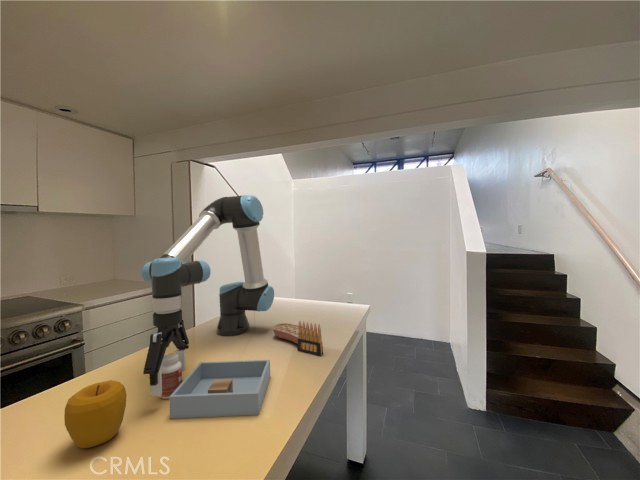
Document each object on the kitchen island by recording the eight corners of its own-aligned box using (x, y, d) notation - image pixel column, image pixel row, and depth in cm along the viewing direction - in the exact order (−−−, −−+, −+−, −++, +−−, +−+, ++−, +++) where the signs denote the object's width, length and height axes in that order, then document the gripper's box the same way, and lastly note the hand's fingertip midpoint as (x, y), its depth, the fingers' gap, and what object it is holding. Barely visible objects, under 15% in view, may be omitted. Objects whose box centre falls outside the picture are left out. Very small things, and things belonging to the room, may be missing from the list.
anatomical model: (269, 338, 121) (268, 327, 121) (285, 332, 129) (285, 321, 129) (305, 352, 106) (304, 339, 106) (321, 344, 113) (321, 332, 113)
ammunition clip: (323, 354, 103) (322, 323, 103) (320, 356, 101) (319, 325, 101) (300, 349, 108) (299, 319, 108) (297, 351, 107) (296, 321, 107)
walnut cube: (215, 397, 76) (214, 379, 76) (233, 396, 77) (232, 379, 76) (208, 408, 71) (207, 390, 71) (227, 407, 72) (226, 389, 71)
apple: (76, 469, 54) (73, 406, 54) (58, 447, 60) (55, 390, 60) (136, 434, 64) (134, 380, 63) (116, 418, 69) (114, 369, 69)
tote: (200, 379, 88) (200, 362, 87) (270, 376, 88) (269, 359, 88) (170, 418, 69) (169, 396, 69) (258, 414, 69) (258, 393, 69)
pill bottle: (183, 394, 79) (182, 357, 79) (159, 402, 76) (158, 363, 76) (181, 385, 84) (180, 350, 84) (158, 392, 81) (156, 355, 81)
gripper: (176, 300, 92) (178, 362, 92) (125, 324, 67) (127, 409, 67) (198, 300, 92) (200, 361, 92) (155, 323, 67) (158, 408, 67)
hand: (169, 382), depth 80 cm, fingers open, 13 cm apart
